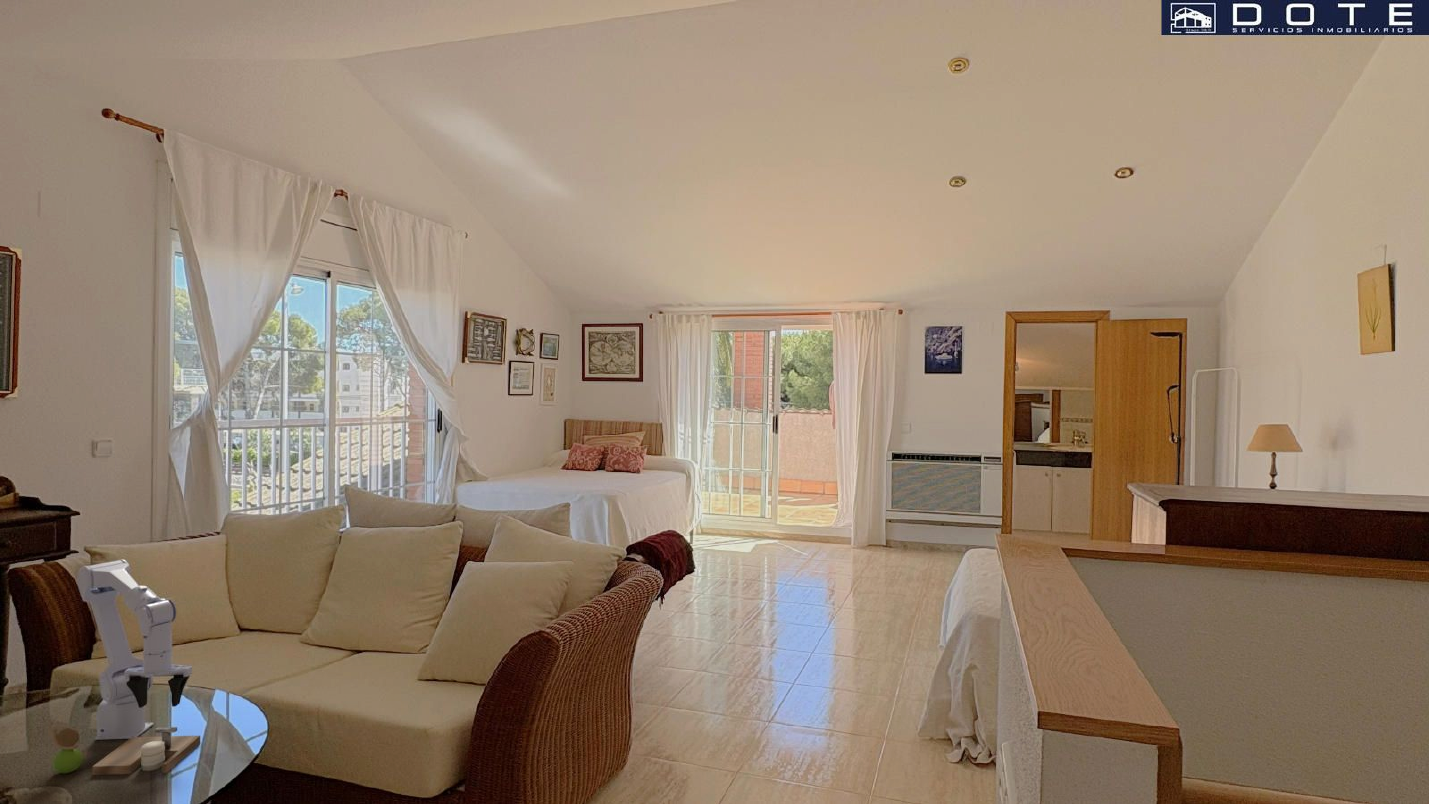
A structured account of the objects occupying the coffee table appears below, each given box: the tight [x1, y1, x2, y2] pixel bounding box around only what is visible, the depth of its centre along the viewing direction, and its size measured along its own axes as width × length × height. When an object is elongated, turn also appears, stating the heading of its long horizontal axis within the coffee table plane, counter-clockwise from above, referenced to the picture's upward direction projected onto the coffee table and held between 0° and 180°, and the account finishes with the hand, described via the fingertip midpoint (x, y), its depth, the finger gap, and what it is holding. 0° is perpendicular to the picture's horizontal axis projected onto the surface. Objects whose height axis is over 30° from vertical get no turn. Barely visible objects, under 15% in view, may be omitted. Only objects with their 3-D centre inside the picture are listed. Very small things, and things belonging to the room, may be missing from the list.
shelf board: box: [92, 735, 201, 776], centre depth 189 cm, size 16×14×2 cm
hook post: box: [154, 726, 178, 750], centre depth 190 cm, size 4×2×5 cm, turn 96°
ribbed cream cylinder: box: [140, 741, 166, 772], centre depth 185 cm, size 5×5×5 cm
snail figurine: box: [48, 720, 84, 774], centre depth 182 cm, size 5×6×12 cm
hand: (159, 705), depth 194 cm, fingers open, 7 cm apart
